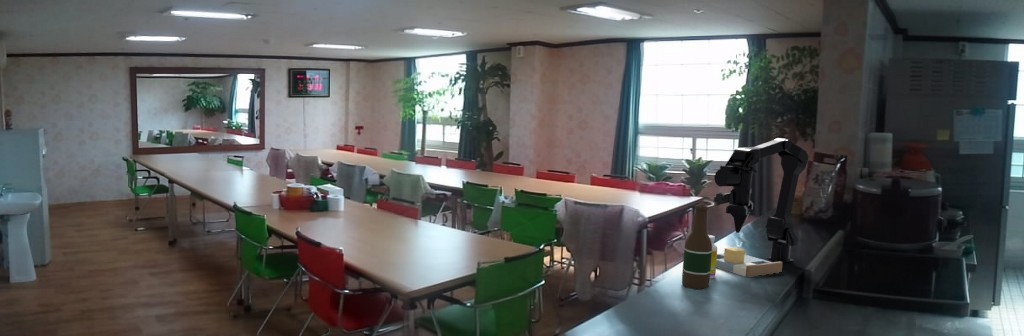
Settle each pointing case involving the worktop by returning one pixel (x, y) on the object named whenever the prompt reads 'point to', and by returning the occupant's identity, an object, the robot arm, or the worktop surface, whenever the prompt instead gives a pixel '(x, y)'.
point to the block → (734, 255)
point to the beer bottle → (697, 253)
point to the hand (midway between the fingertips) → (737, 232)
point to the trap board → (749, 266)
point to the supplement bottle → (713, 257)
